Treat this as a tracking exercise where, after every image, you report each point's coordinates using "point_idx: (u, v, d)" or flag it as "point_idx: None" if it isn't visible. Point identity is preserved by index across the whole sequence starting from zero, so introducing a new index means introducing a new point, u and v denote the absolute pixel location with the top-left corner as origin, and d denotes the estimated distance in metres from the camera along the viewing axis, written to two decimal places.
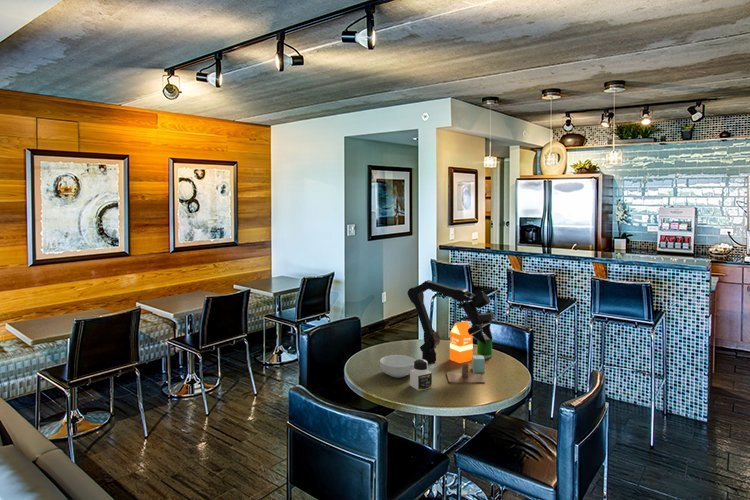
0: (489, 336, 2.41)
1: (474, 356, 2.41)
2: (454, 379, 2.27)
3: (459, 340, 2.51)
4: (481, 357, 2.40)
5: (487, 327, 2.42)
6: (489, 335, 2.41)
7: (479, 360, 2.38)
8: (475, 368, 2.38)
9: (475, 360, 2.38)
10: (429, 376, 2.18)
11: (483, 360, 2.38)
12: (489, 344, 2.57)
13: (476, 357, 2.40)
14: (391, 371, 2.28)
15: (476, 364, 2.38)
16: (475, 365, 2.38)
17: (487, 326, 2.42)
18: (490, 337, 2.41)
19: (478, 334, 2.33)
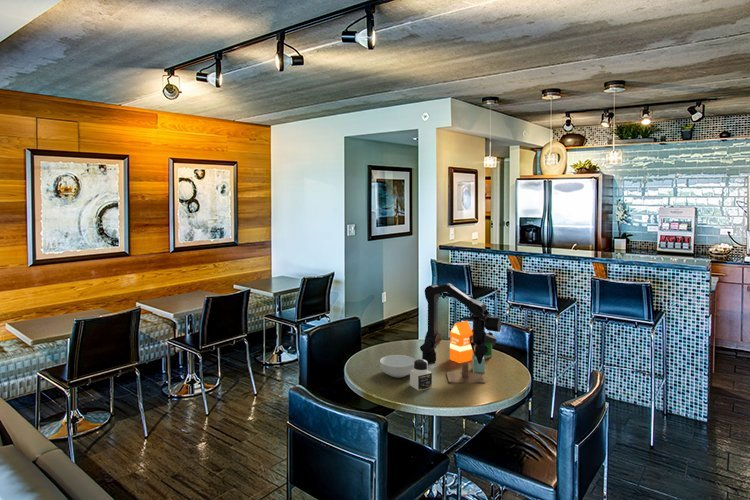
0: None
1: (474, 356, 2.41)
2: (454, 379, 2.27)
3: (459, 340, 2.51)
4: None
5: None
6: None
7: None
8: (475, 368, 2.38)
9: (475, 360, 2.38)
10: (429, 376, 2.18)
11: (483, 360, 2.38)
12: (489, 344, 2.57)
13: None
14: (391, 371, 2.28)
15: (476, 364, 2.38)
16: (475, 365, 2.38)
17: None
18: None
19: (479, 353, 2.34)
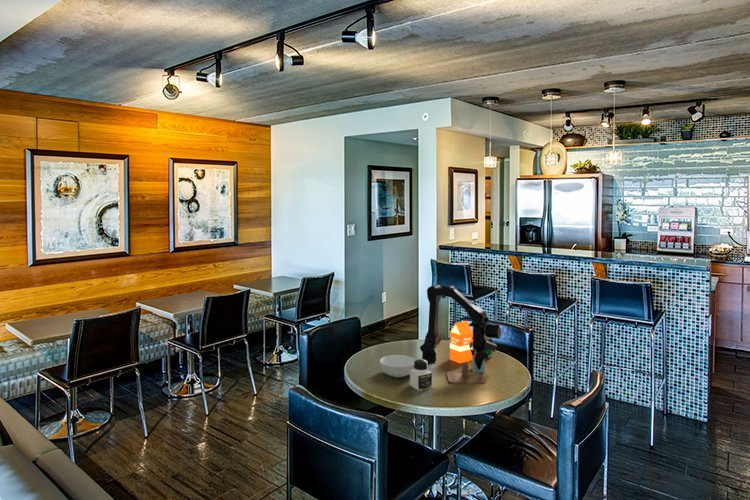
0: None
1: None
2: (454, 379, 2.27)
3: (459, 340, 2.51)
4: None
5: None
6: None
7: None
8: (475, 368, 2.38)
9: None
10: (429, 376, 2.18)
11: (483, 360, 2.38)
12: None
13: None
14: (391, 371, 2.28)
15: None
16: (475, 365, 2.38)
17: None
18: None
19: (479, 358, 2.36)
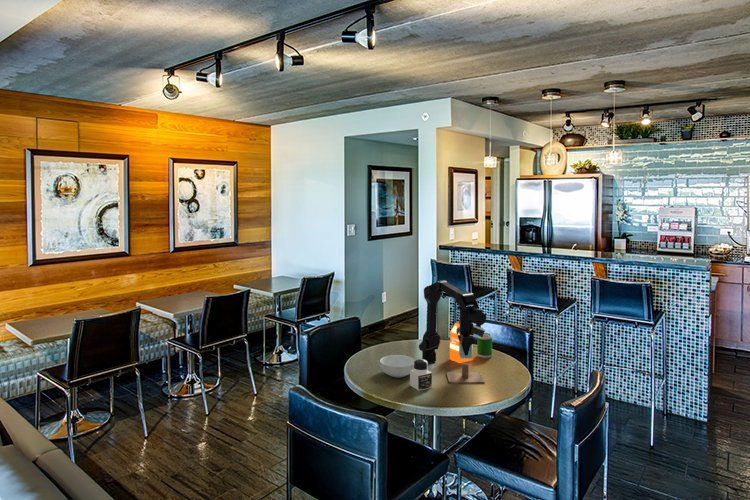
0: None
1: None
2: (454, 379, 2.27)
3: None
4: None
5: None
6: None
7: None
8: (462, 354, 2.26)
9: None
10: (429, 376, 2.18)
11: (470, 346, 2.26)
12: (489, 344, 2.57)
13: None
14: (391, 371, 2.28)
15: None
16: (462, 351, 2.26)
17: None
18: None
19: (466, 344, 2.24)
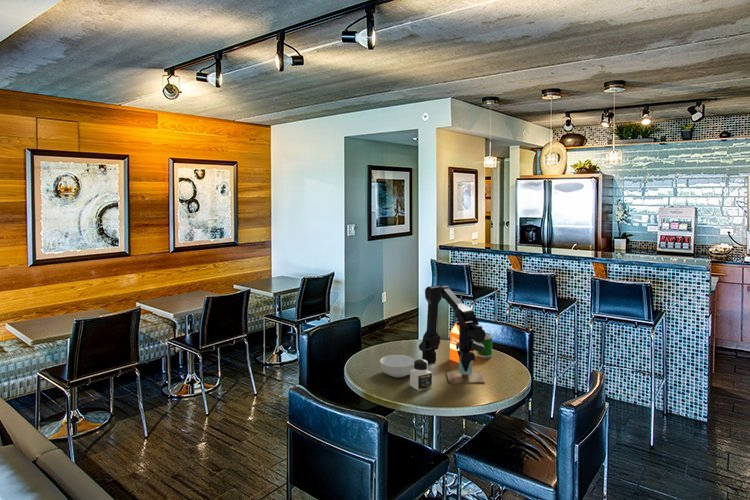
0: None
1: None
2: (454, 379, 2.27)
3: None
4: None
5: None
6: None
7: None
8: (462, 370, 2.27)
9: (461, 362, 2.27)
10: (429, 376, 2.18)
11: (470, 362, 2.27)
12: (489, 344, 2.57)
13: None
14: (391, 371, 2.28)
15: None
16: (462, 367, 2.27)
17: None
18: None
19: (465, 360, 2.25)
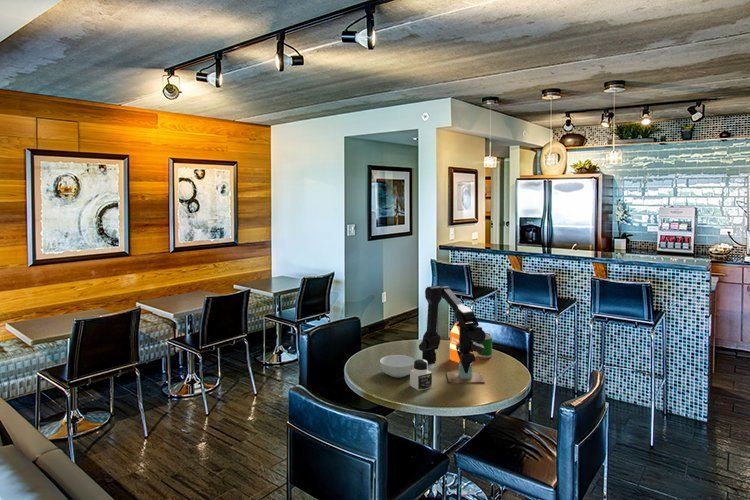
0: None
1: None
2: (454, 379, 2.27)
3: None
4: None
5: None
6: None
7: None
8: (462, 374, 2.27)
9: (461, 366, 2.27)
10: (429, 376, 2.18)
11: (470, 366, 2.27)
12: (489, 344, 2.57)
13: None
14: (391, 371, 2.28)
15: (463, 370, 2.27)
16: (462, 371, 2.27)
17: None
18: None
19: (466, 362, 2.24)
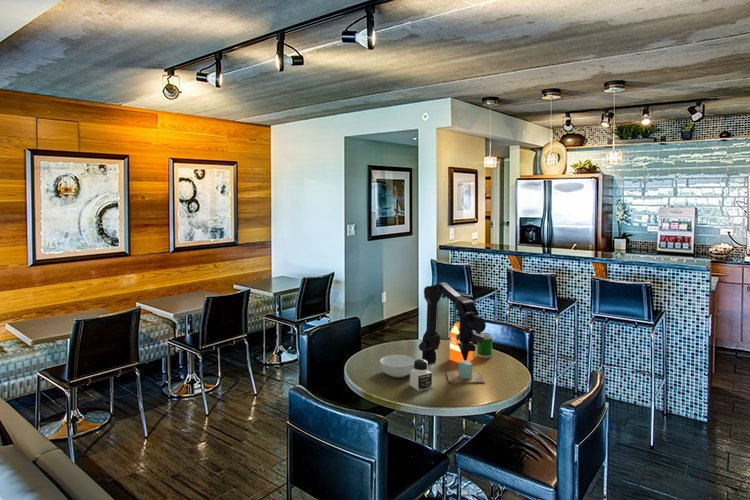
0: None
1: (461, 361, 2.30)
2: (454, 379, 2.27)
3: None
4: (468, 363, 2.29)
5: None
6: None
7: (466, 366, 2.27)
8: (462, 374, 2.27)
9: (461, 366, 2.27)
10: (429, 376, 2.18)
11: (470, 366, 2.27)
12: (489, 344, 2.57)
13: (463, 363, 2.29)
14: (391, 371, 2.28)
15: (463, 370, 2.27)
16: (462, 371, 2.27)
17: None
18: None
19: None
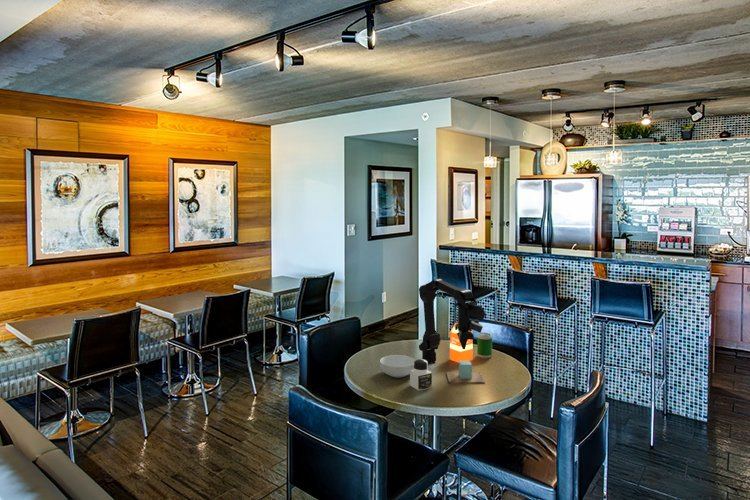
0: None
1: (461, 361, 2.30)
2: (454, 379, 2.27)
3: None
4: (468, 363, 2.29)
5: None
6: None
7: (466, 366, 2.27)
8: (462, 374, 2.27)
9: (461, 366, 2.27)
10: (429, 376, 2.18)
11: (470, 366, 2.27)
12: (489, 344, 2.57)
13: (463, 363, 2.29)
14: (391, 371, 2.28)
15: (463, 370, 2.27)
16: (462, 371, 2.27)
17: None
18: None
19: None
